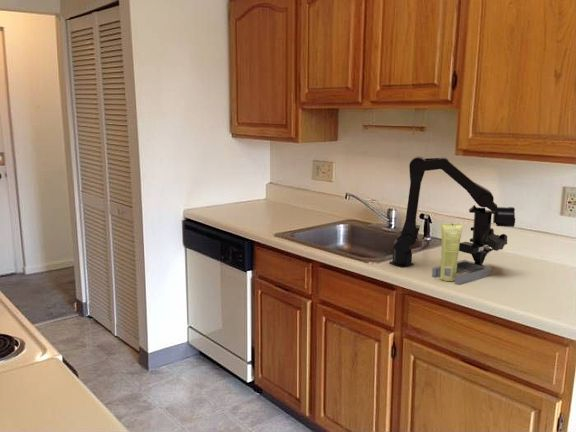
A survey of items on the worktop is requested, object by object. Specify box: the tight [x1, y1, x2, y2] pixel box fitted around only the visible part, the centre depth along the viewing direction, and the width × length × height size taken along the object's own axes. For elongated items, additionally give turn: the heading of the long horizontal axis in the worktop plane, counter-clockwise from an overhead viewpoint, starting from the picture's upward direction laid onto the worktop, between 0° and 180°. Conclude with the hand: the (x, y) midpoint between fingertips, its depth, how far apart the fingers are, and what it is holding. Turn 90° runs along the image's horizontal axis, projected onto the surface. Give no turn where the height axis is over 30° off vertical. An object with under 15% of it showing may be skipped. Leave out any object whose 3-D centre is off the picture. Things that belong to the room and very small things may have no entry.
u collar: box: [431, 259, 492, 286], centre depth 182 cm, size 11×18×3 cm, turn 125°
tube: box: [439, 222, 464, 282], centre depth 177 cm, size 6×5×20 cm
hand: (478, 268), depth 188 cm, fingers closed
